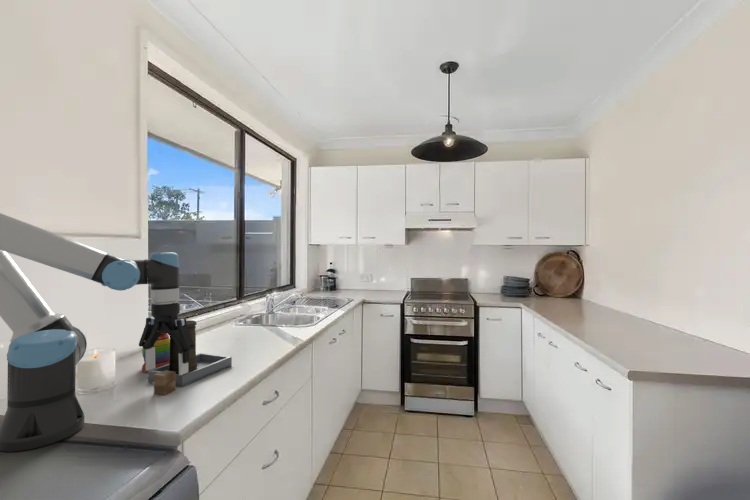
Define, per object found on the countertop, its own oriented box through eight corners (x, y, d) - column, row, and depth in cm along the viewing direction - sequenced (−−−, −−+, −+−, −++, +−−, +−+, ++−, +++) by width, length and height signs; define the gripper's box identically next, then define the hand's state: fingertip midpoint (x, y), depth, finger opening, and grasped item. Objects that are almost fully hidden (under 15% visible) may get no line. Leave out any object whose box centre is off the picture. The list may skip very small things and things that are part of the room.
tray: (182, 387, 111) (182, 376, 112) (147, 381, 116) (147, 370, 116) (231, 366, 132) (231, 356, 132) (200, 362, 137) (200, 353, 137)
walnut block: (163, 396, 105) (163, 375, 105) (153, 394, 106) (154, 374, 106) (175, 391, 108) (175, 371, 109) (165, 389, 110) (165, 370, 110)
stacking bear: (146, 373, 124) (147, 323, 124) (135, 368, 130) (136, 320, 130) (178, 366, 132) (179, 319, 133) (167, 361, 138) (167, 316, 139)
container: (202, 370, 125) (203, 320, 125) (186, 379, 116) (187, 325, 116) (179, 369, 125) (179, 319, 126) (161, 378, 117) (161, 324, 117)
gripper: (207, 302, 107) (208, 371, 107) (147, 299, 115) (148, 363, 115) (186, 305, 100) (187, 380, 100) (124, 302, 108) (125, 371, 108)
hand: (166, 371), depth 108 cm, fingers open, 13 cm apart
